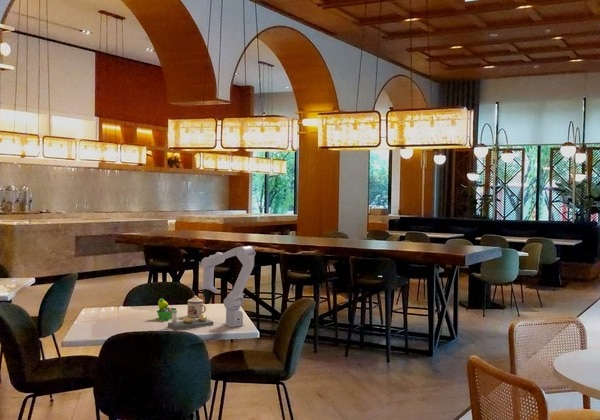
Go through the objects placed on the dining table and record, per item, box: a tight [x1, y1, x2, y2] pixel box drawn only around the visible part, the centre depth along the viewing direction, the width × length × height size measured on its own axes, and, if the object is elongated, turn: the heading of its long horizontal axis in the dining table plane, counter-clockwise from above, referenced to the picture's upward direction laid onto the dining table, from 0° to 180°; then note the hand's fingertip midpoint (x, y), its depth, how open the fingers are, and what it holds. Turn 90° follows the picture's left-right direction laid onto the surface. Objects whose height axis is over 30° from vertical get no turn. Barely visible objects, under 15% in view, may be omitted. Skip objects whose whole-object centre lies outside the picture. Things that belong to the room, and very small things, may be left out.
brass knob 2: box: [197, 315, 208, 322], centre depth 359 cm, size 4×4×4 cm
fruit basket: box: [156, 297, 177, 321], centre depth 373 cm, size 11×9×11 cm
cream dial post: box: [171, 309, 178, 324], centre depth 352 cm, size 3×3×7 cm
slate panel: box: [167, 318, 214, 331], centre depth 356 cm, size 10×22×2 cm, turn 130°
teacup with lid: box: [186, 295, 207, 319], centre depth 381 cm, size 12×9×12 cm
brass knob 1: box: [183, 316, 193, 324], centre depth 354 cm, size 4×4×4 cm
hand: (207, 303), depth 369 cm, fingers closed
